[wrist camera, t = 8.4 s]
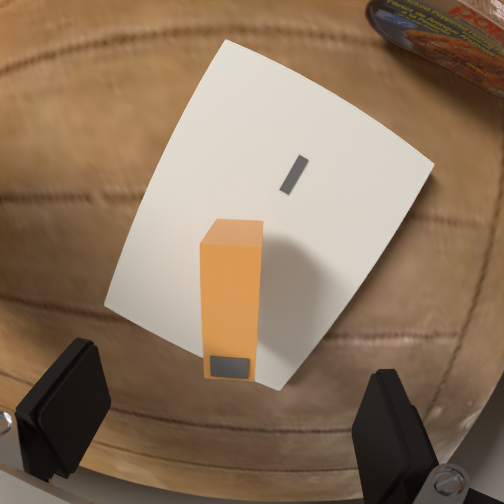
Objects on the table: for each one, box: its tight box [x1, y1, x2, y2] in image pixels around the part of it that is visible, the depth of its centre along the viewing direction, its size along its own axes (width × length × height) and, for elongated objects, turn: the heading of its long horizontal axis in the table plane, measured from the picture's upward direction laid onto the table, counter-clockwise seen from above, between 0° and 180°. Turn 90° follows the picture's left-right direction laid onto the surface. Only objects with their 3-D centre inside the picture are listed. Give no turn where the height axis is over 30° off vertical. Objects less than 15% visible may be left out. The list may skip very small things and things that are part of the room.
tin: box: [365, 0, 504, 98], centre depth 13 cm, size 15×3×8 cm, turn 77°
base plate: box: [104, 39, 435, 391], centre depth 20 cm, size 15×20×4 cm
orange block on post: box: [200, 219, 264, 382], centre depth 16 cm, size 7×2×5 cm, turn 178°
